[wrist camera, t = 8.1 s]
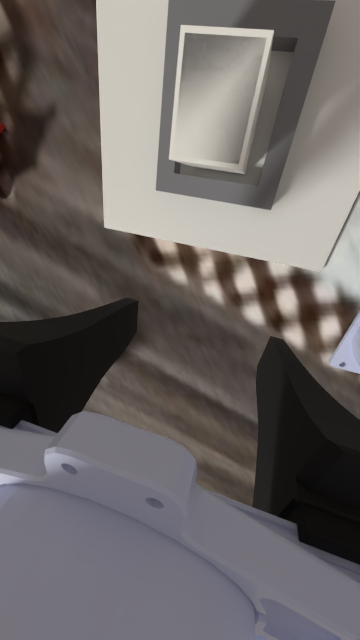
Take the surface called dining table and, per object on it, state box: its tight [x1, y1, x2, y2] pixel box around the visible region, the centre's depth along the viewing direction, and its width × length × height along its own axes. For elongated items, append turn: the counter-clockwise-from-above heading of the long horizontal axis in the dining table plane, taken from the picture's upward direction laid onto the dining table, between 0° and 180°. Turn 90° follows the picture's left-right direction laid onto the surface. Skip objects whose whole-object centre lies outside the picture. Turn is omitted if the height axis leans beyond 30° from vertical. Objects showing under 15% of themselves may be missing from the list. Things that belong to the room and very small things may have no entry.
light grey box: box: [169, 25, 274, 175], centre depth 13 cm, size 4×4×6 cm
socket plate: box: [96, 0, 360, 272], centre depth 14 cm, size 18×16×2 cm
